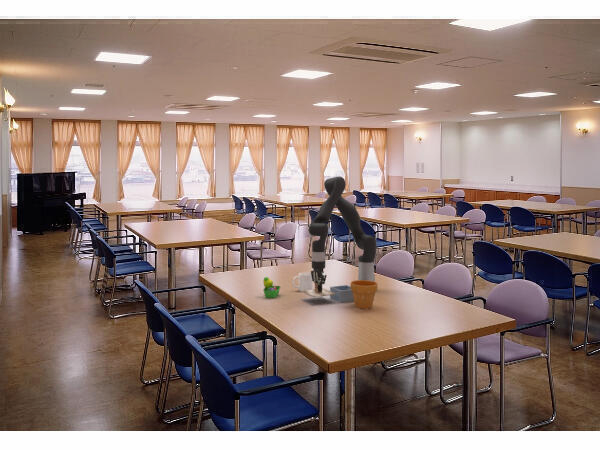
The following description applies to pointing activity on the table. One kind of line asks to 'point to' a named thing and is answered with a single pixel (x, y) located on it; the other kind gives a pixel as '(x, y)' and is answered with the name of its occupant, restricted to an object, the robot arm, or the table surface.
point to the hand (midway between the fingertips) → (318, 290)
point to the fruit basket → (270, 288)
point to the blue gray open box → (342, 293)
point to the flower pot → (363, 293)
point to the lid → (316, 293)
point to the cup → (304, 281)
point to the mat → (317, 301)
